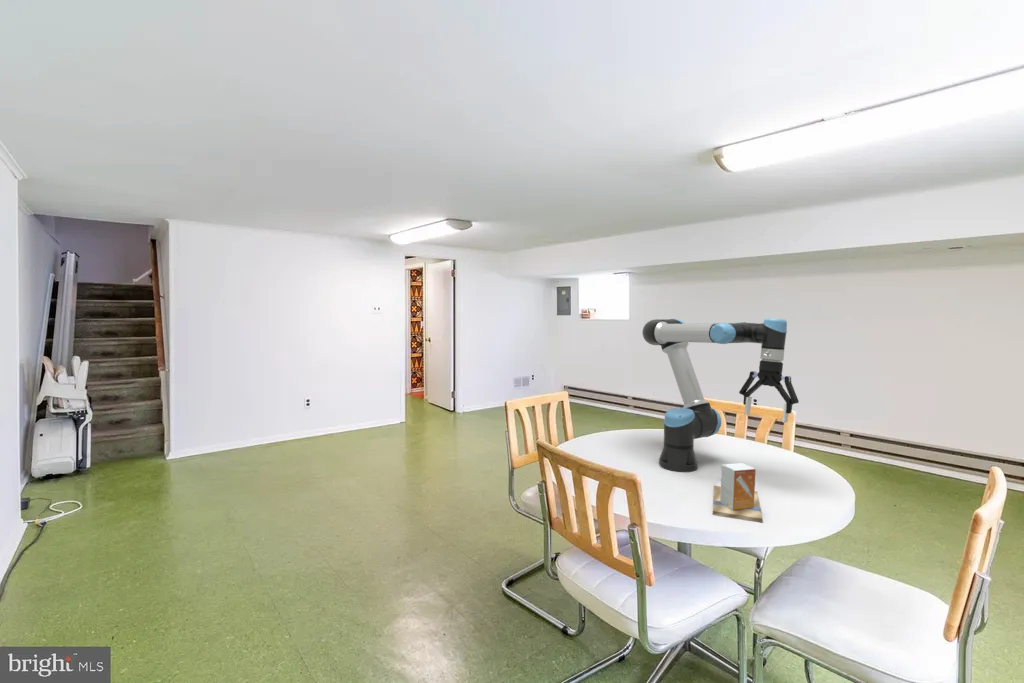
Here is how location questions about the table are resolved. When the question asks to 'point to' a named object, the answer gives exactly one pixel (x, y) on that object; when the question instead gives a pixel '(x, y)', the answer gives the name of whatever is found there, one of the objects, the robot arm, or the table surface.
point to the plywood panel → (744, 514)
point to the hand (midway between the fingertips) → (765, 418)
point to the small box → (737, 486)
